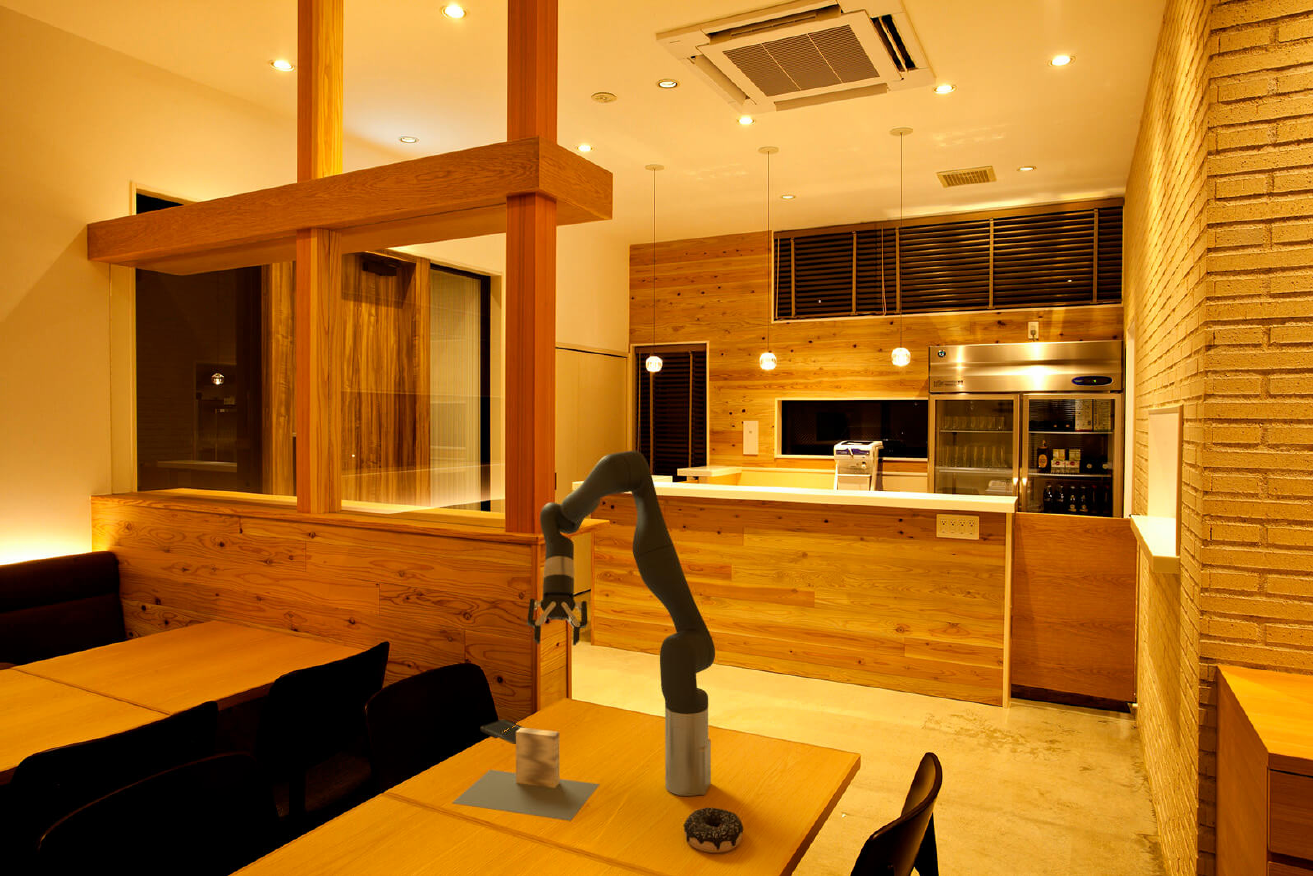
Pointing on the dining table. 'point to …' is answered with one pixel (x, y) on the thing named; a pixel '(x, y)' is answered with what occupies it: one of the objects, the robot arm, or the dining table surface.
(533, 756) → the tan wooden block
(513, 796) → the mat
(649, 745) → the dining table surface
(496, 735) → the phone
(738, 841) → the donut
